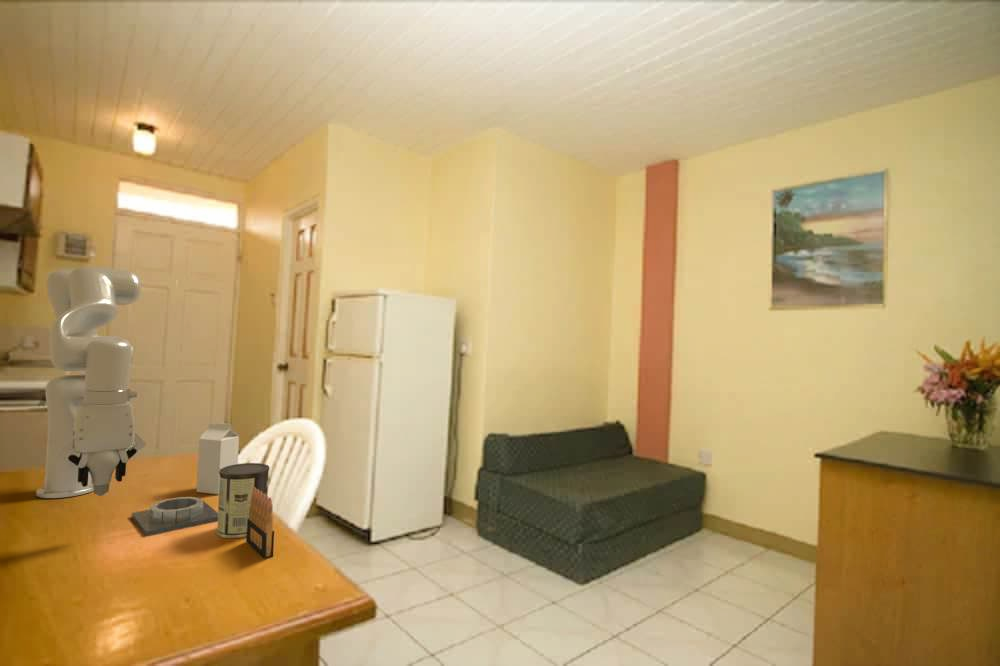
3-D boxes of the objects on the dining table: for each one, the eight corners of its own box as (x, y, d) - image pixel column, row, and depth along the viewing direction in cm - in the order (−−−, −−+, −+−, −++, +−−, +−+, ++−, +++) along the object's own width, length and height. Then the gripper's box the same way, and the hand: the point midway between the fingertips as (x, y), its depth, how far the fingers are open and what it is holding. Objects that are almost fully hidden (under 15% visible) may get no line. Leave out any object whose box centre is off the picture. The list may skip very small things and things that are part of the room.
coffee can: (256, 518, 121) (259, 460, 121) (273, 530, 113) (276, 469, 114) (209, 528, 113) (212, 467, 113) (225, 542, 106) (228, 477, 106)
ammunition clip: (273, 556, 100) (276, 497, 101) (263, 559, 99) (266, 499, 99) (255, 540, 108) (257, 485, 108) (245, 542, 107) (248, 486, 107)
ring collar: (131, 517, 118) (132, 502, 118) (202, 503, 129) (202, 490, 129) (146, 536, 107) (146, 520, 107) (221, 520, 118) (222, 505, 118)
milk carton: (218, 495, 136) (221, 426, 136) (196, 492, 137) (199, 424, 138) (236, 487, 143) (240, 422, 143) (215, 485, 144) (218, 420, 145)
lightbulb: (78, 501, 101) (80, 448, 101) (86, 492, 107) (89, 441, 107) (115, 498, 104) (117, 446, 104) (121, 489, 109) (124, 440, 109)
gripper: (150, 393, 114) (145, 471, 114) (51, 397, 102) (46, 485, 102) (158, 398, 109) (153, 479, 109) (55, 402, 97) (49, 495, 97)
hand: (101, 481), depth 105 cm, fingers closed on lightbulb, 5 cm apart
